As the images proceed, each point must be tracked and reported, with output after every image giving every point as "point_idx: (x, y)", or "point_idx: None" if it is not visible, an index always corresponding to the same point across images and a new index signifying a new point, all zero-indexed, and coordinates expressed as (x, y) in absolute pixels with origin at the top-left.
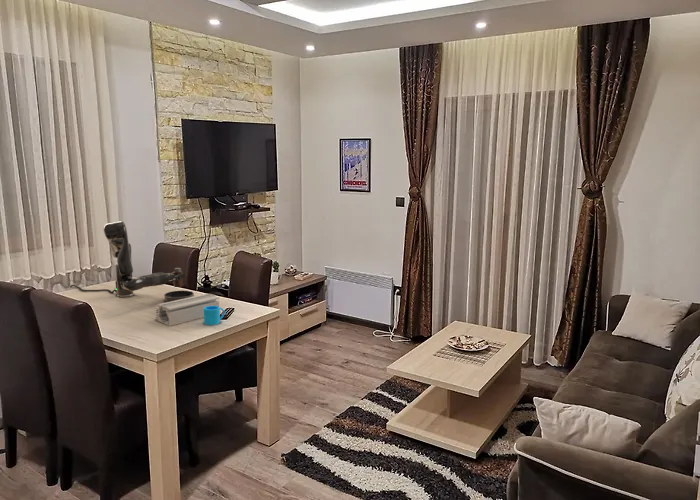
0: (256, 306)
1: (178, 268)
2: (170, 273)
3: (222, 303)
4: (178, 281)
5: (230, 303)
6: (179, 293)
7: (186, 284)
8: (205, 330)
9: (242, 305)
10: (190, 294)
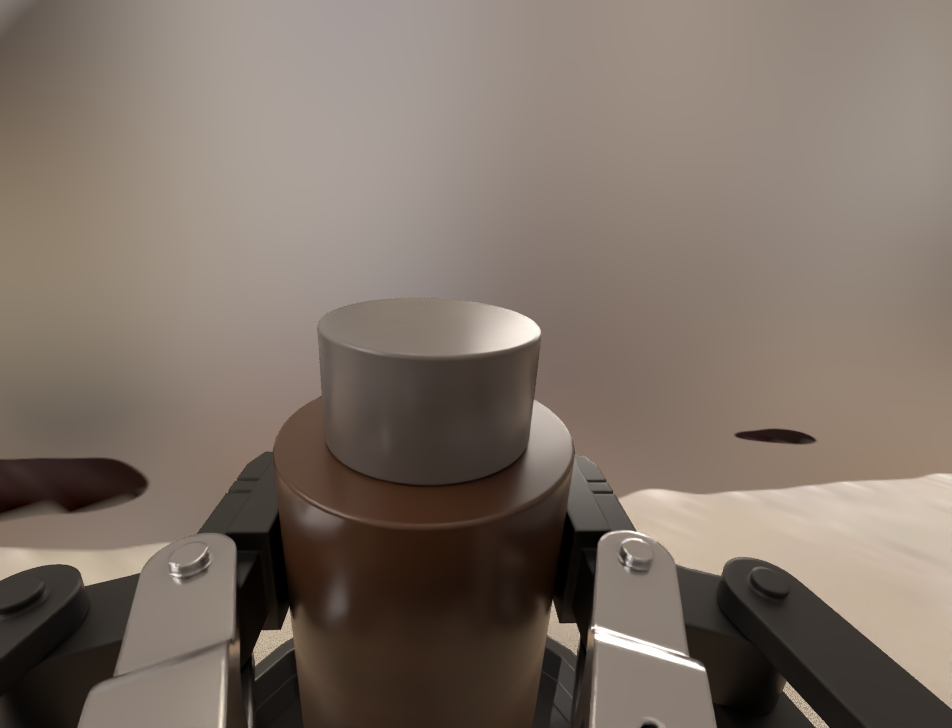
0: (945, 488)
1: (452, 317)
2: (228, 676)
3: (829, 578)
4: (533, 701)
5: (837, 541)
6: None
7: (51, 461)
8: None
9: (914, 521)
10: None
